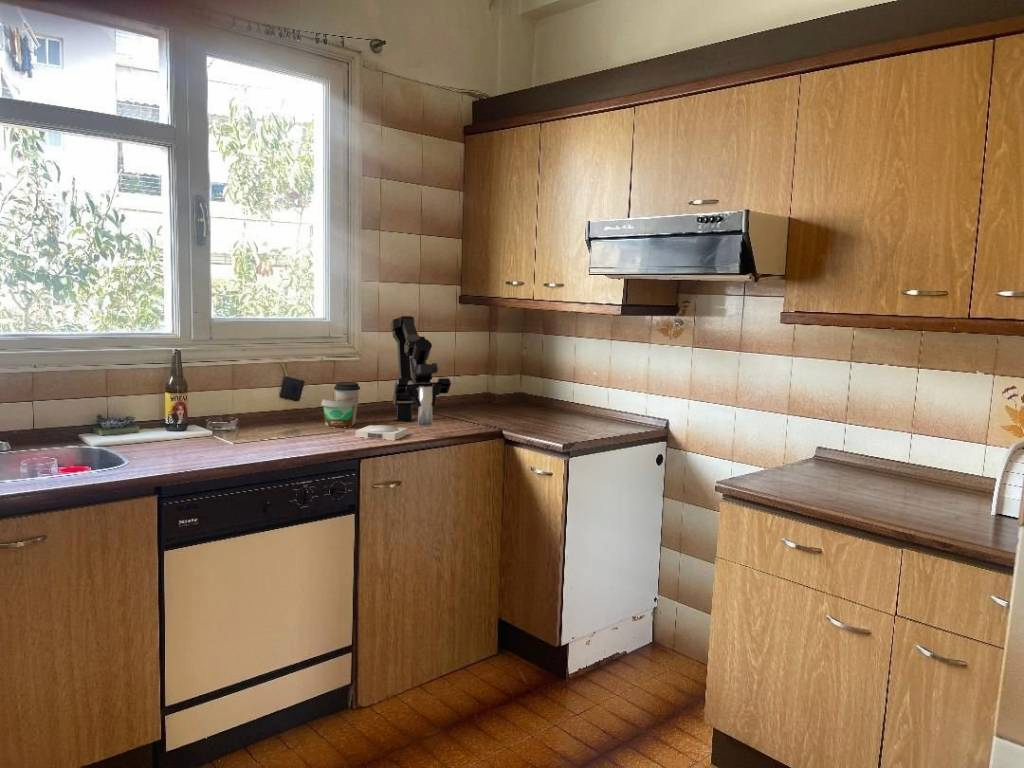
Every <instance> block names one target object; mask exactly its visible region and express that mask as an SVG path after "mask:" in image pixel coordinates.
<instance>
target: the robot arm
mask: <svg viewBox="0 0 1024 768" xmlns="http://www.w3.org/2000/svg"><path fill="white" fill-rule="evenodd" d="M415 323H416V322H415V319H414V316H412V315H401V316H399V317H398V318H394V319H392V321H390V331H391V333H392V337H393V339H394V340H395V342H396V346H397V348H396V349H397V360H398V361H397V362H398V363H397V364H398V365H397V366H398V378H397V379H396V380H395V383H394V388H393V389H394V391H393V396H392V404H393V405H395V406H396V418H393V421H397V422H412V421H414V420H416V418H415V417H413V406H414V405H416V407H417V408H418V407H419V399H418V391H419V386H432V387H433V405H432V407H435V405H436V404H435V403H436V400H437V396H439V395H441V394H443V395H444V394H448V393H449V391H450V388H451V385H452V382H451V379H450V378H449V377H438V380H437V382H432V379H433V376H432V375H433V374H437V373H438V371H439V368H438V362H434V363H433V362H432V363H429V364H428V362H427V361H428V360H429V358H430V355H431V350H432V347H433V344H432V342H431V341H430V340H428V339H426V337H425V336H420V335H419V333H418V330H417V327H416V324H415Z"/></svg>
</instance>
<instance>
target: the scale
mask: <svg viewBox="0 0 1024 768" xmlns="http://www.w3.org/2000/svg"><path fill="white" fill-rule="evenodd" d="M407 435H408V427H397V426H395V425H386V424H385V425H382V424H381V425H379V424H378V425H377V424H376V425H367V426H365V427H362V428H359V429H356V430H355V438H360V437H364V438H363V439H372V438H374V440H384V439H386V440H385V441H396V439H397V440H398V439H401V438H403V437H405V436H407Z"/></svg>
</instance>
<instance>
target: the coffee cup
mask: <svg viewBox="0 0 1024 768" xmlns="http://www.w3.org/2000/svg"><path fill="white" fill-rule="evenodd" d="M333 390H335V391H334V393H335V396H334V398H335V401H336V400H342V401H349V400H354V399H355V400H356V405H355V406H354V414H353V423H352V424H354V425H356V419H357V418H356V417H357V411H358V404H359V390H361V386H360V385H359V383H358V382H353V381H341V382H336V383H335V386H334V387H333Z"/></svg>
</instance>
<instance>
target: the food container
mask: <svg viewBox="0 0 1024 768" xmlns="http://www.w3.org/2000/svg"><path fill="white" fill-rule="evenodd" d="M320 405H321V406H322V407H323V415H324V425H326V426H329V427H335V428H344V427H350V426H352V427H353V425H352V423H353V414H354V406H355V405H356V400H355V399H354V400H349V401H342V400H336V399H335V400H328V399H324V398H322V401H321V404H320ZM326 426H325V427H326ZM350 428H351V427H350ZM344 429H345V428H344Z"/></svg>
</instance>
